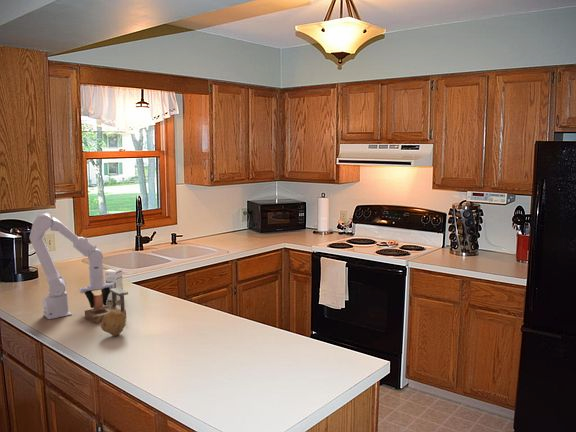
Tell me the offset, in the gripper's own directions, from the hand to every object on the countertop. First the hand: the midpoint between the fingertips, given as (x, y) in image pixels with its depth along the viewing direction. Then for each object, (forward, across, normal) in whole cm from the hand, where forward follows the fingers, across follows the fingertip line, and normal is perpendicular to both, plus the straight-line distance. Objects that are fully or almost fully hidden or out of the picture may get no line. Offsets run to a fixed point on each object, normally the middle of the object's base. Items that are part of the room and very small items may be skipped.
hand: (98, 306), depth 229 cm
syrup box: (+2, +12, +11) cm, 16 cm away
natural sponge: (+2, -7, -35) cm, 36 cm away
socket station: (+2, 0, -12) cm, 12 cm away
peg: (+2, 0, 0) cm, 2 cm away
